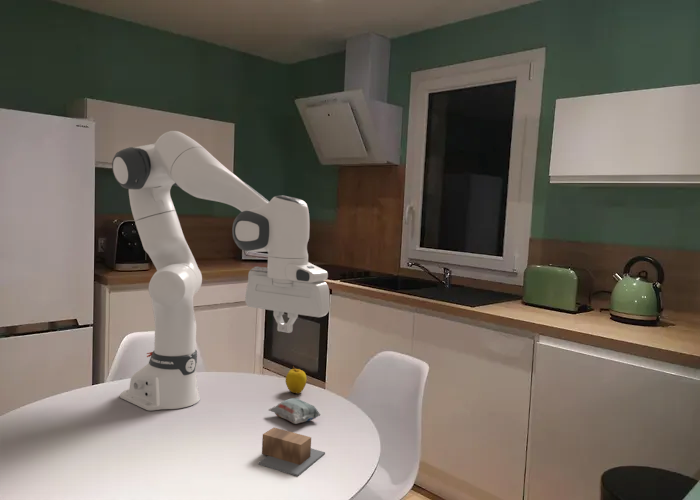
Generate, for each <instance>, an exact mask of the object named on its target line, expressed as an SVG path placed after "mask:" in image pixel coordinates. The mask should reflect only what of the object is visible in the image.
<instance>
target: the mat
mask: <svg viewBox="0 0 700 500" xmlns="http://www.w3.org/2000/svg"><path fill="white" fill-rule="evenodd" d="M324 455H326V452H325V451H322V450H319V449H318V450H317V449H314V448H311V454H310V457H309V458H308V459H307V460H306V461H304V462H303V463H302V464H301V465H298V464H295V463H292V462H288V461H285V460H282V459H278V458H275V457H271V456H268V455H266V457H265V458H263V459H261V460H260V461H259V462H258V463H257V464H258V465H260V466H263V467H267V468H269V469H273V470H276V471H279V472H283V473H286V474H289V475H293V476H296V477H299V476H300V475H301V474H303V473H304V472H305V471H306V470H308V469H309V468H310V467H311V466H313V464H315V463H316V462H317V461H318V460H320V459H321V458H322V457H323V456H324Z"/></svg>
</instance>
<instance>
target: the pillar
mask: <svg viewBox="0 0 700 500" xmlns="http://www.w3.org/2000/svg"><path fill="white" fill-rule="evenodd" d="M261 443H262V444H261V454H263V455H265V456H271V457H275V458H278V459H282V460H285V461H288V462H292V463H295V464H298V465H301V464H302V463H303V462H304V461H306V460H307V459H308V458H309V457H310V454H311V447H312V437H311V436H308V435H304V434H300V433H297V432H293V431H289V430H286V429H281V428H277V427H273V428H271V429H269V430H267V431H266V432H264V433H262V442H261Z"/></svg>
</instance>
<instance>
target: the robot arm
mask: <svg viewBox="0 0 700 500" xmlns="http://www.w3.org/2000/svg"><path fill="white" fill-rule="evenodd" d="M111 168H112V169H111V170H112V174H113V175H114V179H115V180H116V182H117V183H118V184H119V185H120V186H121V187H122V188H124V189H126V190H127V189H128V196H129V197H128V198H129V205H130V208H131V213H132V217H133V219H134V220H133V221H134V222H135V223H134V224H135V226H136V227H135V228H136V230H137V232H138V235H139V238H140V241H141V244H142V247H143V250H144V251H145V252H146V253H147V255H148V256H149V258H150V259H151V261H152V264H153V265H154V267H155V269H156V271H155V272H154V274H153V275H152V277H151V278H150V279H149V280H150V281H149V283H148V294H149V297H150V298H151V306H152V312H153V319H154V342H153V343H154V347H153V349H154V350H153V351H150V352H147V353H146V358H149V361H148V363H147V364H146V365H144V366H143V367H142V368H140V369H138V371H136V372H134V373H133V374H132V376H131V377H130V380H129V381H130V382H129V387H128V388H127V389H125V390H123V391H122V392H121V393H120V396H119V398H121V399H122V400H125V401H126V402H128V403H131V404H133V405H135V406H138V407H139V408H141V409H144V410H146V411H148V412H149V411H159V410H177V409H182V408H186V407H190V406H192V405H195V404H198V402H199V401H201V400H200V399H201V397H200V394H199V393H200V392H199V388H198V381H197V369H196V367H197V363H198V351H197V350H198V349H196V348H197V347H196V346H197V321H196V315H195V308H194V307H195V306H194V298H195V297H194V296H195V295H196V294H197V293H198V292H199V291H200V290H201V286H202V284H203V283H202V282H203V275H202V271H201V270H200V268H199V267H198V266H199V265H198V264H197V262H196V259H195V257H194V255H193V253H192V250H191V249H190V246H189V245H188V242H187V240H186V238H185V235H184V233H183V230H182V226H181V223H180V220H179V216H178V214H177V211H176V208H175V206H174V202H173V200H172V197H171V189H172V186H175V187H178V188H180V189H181V190H182V191H184V192H185V193H187V194H189V195H190V196H192V197H195V198H197V199H200V200H201V199H202V200H206V201H213V202H219V203H222V204H226V205H228V206H231V207H233V208H235V209H237V210H239V211H240V212H239V214H237V215H236V217H235V219H234V220H233V223H232V229H231V231H232V239H233V241H234V243H235V245H236V246H237V247H238V248H239V249H240V250H241V251H246V252H249V253H253V252H254V253H261V252H262V253H266V252H267V267H260V266H254V267H253V268H251V269H250V270H249V271H248V277H247V278H248V279H247V286H246V292H245V299H244V301H245V304H246V307H249V308H254V309H262V310H265V311H266V310H267V311H273V317H274V319H275V322H276V324H277V327H276V329H277V331H278V332H283V333H288V334H290V333H292V332H293V328H294V324H295V322H296V320H297V319H298V318H299V315H300V316H308V317H314V318H322V317H325V316H326V315H327V314H328V313H329V312H330V306H331V305H330V304H331V301H330V289H329V288H330V287H329V285H328V284H327V282H326V280H328V278H329V273H328V271H327V270H325V269H323V268H321V267H319V266H317V265H314V263H313V264H312V263H311V262H309V253H308V242H309V241H310V240H309V239H310V226H311V225H310V222H311V221H310V213H309V212H310V211H309V207H308V203H306V201H304V200H303V199H301V198H297V197H293V196H287V195H280V194H279V195H275V196H273V197H272V198H271V199H270V201H269V200H268V199H267V198H265V196H264V195H262V194H261V193H259V192H258V191H257V190H255V189H254V188H253V187H252V186H250V185H249V184H247V183H246V182H245V181H243V180H242V179H241V178H240V177H238V176H237V175H236V174H235V173H233V172H232V171H231V170H230V169H228V168H227V167H226V166H225V165H224V164H222V162H220V161H219V160H218V159H217V158H216V157H215V156H213V154H212V153H211V152H209V151H208V150H207V149H206V148H205V147H204V146H202V145H201V144H200V143H199V142H198V141H196V140H195V139H193V138H191V136H188V135H187V134H185V133H183V132H181V131H178V130H170V131H166V132H164V133H163V134H160V136H159V137H158V138H157V140H156V141H155V142H154V143H153V142H152V143H150V144H145V145H144V144H143V145H139V146H135V147H133V146H131V147H130V146H129V147H127V148H123V149H121V150H119V151H117V152H116V153H115V154H114V157H113V159H112V162H111ZM285 313H286V314H287V318H289V319H288V320H287V322H285V320H284V318H283V315H285Z"/></svg>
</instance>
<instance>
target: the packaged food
mask: <svg viewBox="0 0 700 500" xmlns="http://www.w3.org/2000/svg"><path fill="white" fill-rule="evenodd" d="M268 412H271V413H274V415H276V416H277V417H279V418H282V419H284V420H286V421H288V422H290V423H292V424H295V425H298V424H301V423H305V422H308V421H309V422H310V421H312V420H315V419H316V418H318V417H320V416H321V413H320V411H319V410H318V409H317V408H316V406H314V405H312V404H310V403H308V402H305V401H303V400H301V399H300V398H296V397H295V398H294V397H293V398H292V397H290V398H289V399H286V400H283V401H281V402H279V403H277V405H276V406H273V407H270V408H268Z"/></svg>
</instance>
